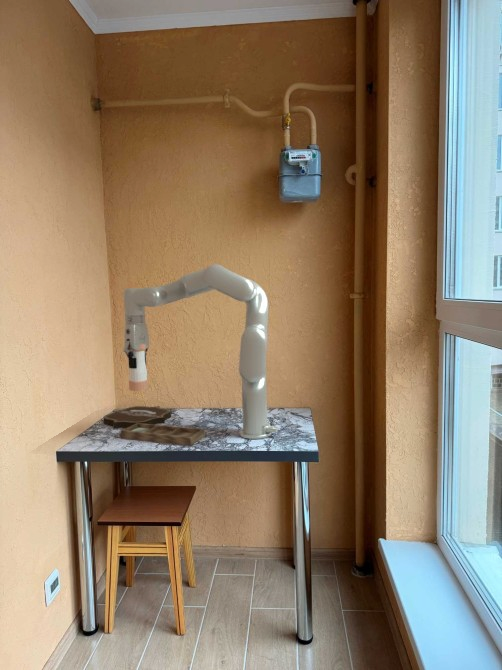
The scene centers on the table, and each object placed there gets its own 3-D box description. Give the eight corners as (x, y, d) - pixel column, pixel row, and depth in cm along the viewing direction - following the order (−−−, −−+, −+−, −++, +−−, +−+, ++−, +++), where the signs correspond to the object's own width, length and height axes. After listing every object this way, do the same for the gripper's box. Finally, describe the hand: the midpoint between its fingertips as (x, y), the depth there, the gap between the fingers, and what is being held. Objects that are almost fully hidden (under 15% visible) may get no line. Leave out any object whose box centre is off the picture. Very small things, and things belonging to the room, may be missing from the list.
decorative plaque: (185, 408, 212) (141, 426, 185) (185, 415, 212) (141, 434, 186) (135, 403, 226) (87, 419, 199) (135, 409, 226) (87, 425, 200)
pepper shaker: (133, 386, 185) (131, 339, 183) (151, 387, 184) (149, 339, 182) (126, 391, 178) (124, 341, 176) (144, 391, 177) (142, 341, 175)
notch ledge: (205, 436, 178) (204, 429, 178) (190, 446, 168) (190, 438, 168) (137, 430, 190) (137, 422, 189) (120, 438, 180) (120, 430, 179)
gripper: (129, 322, 169) (132, 371, 171) (156, 318, 185) (158, 363, 186) (112, 322, 172) (115, 370, 173) (140, 318, 188) (142, 363, 189)
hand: (137, 366), depth 180 cm, fingers closed on pepper shaker, 5 cm apart
